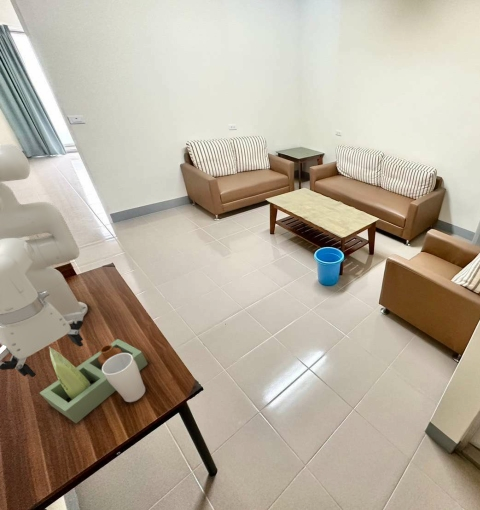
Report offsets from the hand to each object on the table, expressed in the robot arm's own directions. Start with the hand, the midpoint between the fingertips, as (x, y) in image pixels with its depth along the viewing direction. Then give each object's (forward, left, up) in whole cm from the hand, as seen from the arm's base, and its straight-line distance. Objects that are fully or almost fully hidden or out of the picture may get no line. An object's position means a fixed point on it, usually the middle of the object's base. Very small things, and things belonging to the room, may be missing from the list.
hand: (55, 358), depth 67 cm
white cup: (+11, +7, -19) cm, 22 cm away
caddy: (0, +5, -18) cm, 19 cm away
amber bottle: (0, +9, -18) cm, 21 cm away
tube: (0, 0, -19) cm, 19 cm away
